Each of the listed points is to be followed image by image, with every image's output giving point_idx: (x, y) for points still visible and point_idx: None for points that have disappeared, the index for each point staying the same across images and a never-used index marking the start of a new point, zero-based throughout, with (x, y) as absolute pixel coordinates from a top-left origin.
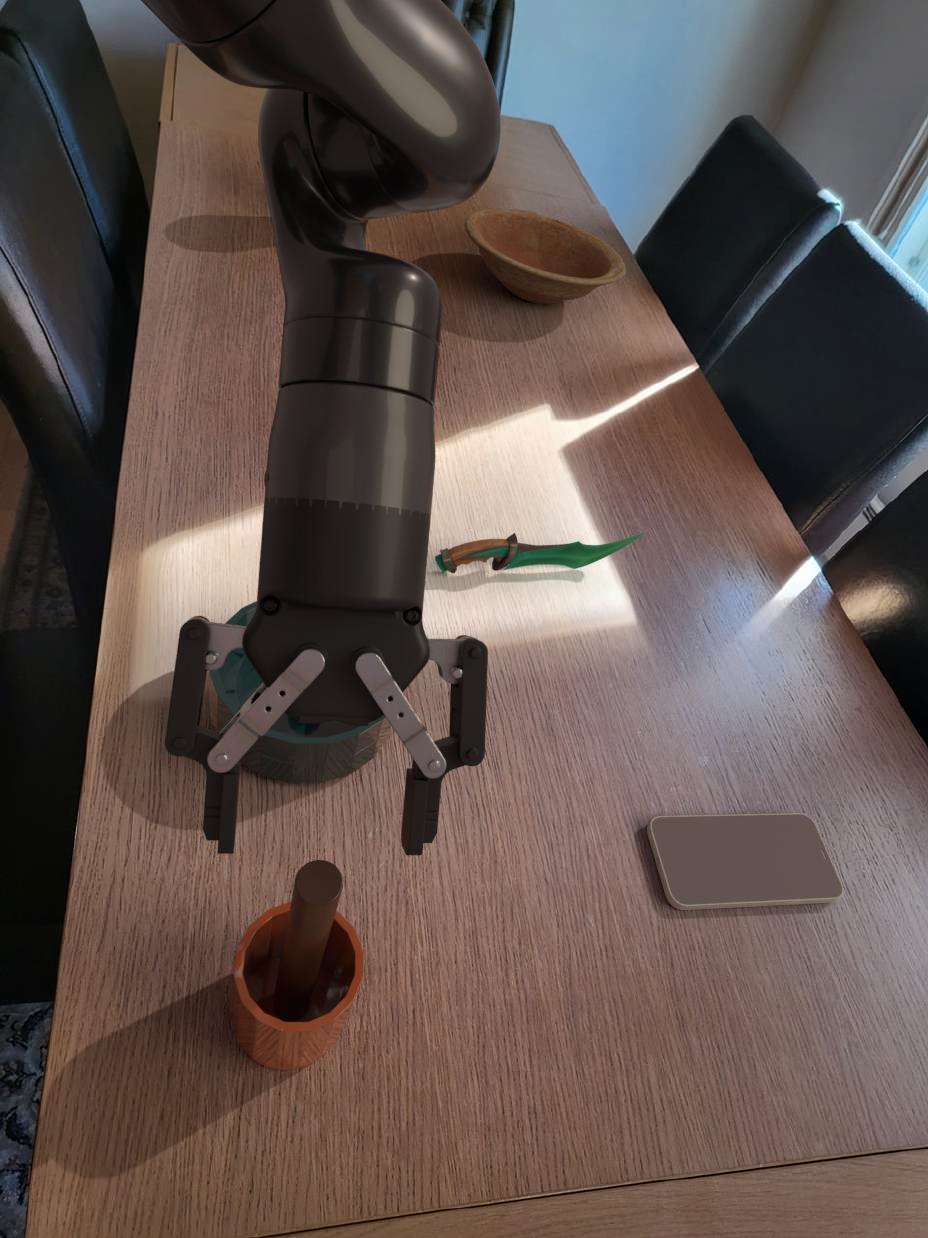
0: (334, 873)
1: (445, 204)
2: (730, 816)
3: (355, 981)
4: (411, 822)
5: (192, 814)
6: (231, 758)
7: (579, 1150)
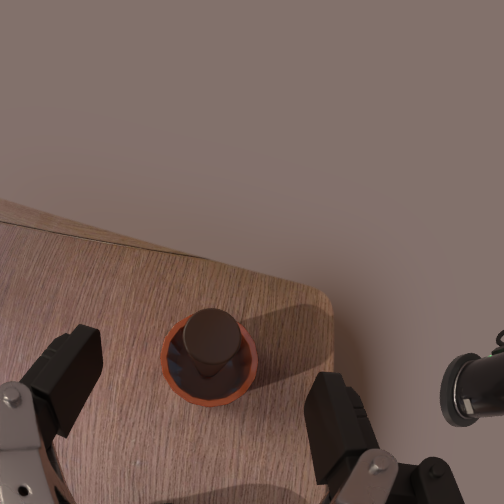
0: (191, 343)
1: None
2: None
3: (170, 337)
4: (77, 352)
5: (262, 493)
6: (365, 468)
7: (76, 252)
